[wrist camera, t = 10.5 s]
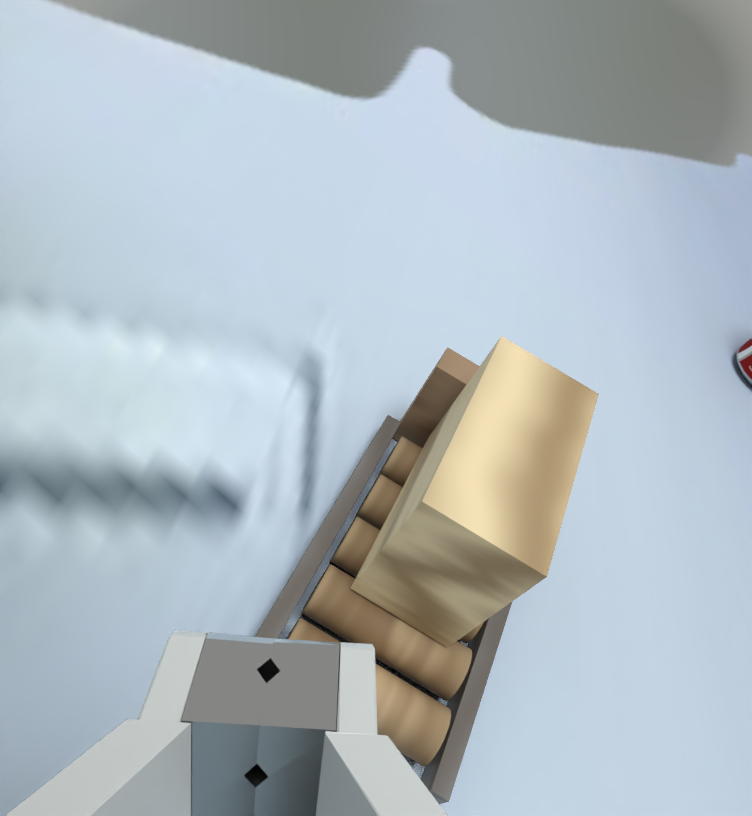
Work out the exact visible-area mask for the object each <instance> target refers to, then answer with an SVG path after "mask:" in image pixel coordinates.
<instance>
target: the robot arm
mask: <svg viewBox="0 0 752 816" xmlns="http://www.w3.org/2000/svg"><path fill="white" fill-rule="evenodd" d="M5 816H447V814H446V813H445V812H444V810H443V809H442V808H441V806H440V805H439V804H438V802H437V801H436V800H435V798H434V797H433V796H432V794H431V793H430V792H429V790H428V789H427V788H426V786H425V785H424V784H423V782H422V781H421V780H420V778H419V777H418V776H417V774H416V773H415V772H414V770H413V769H412V767H411V766H410V765H409V763H408V762H407V761H406V759H405V758H404V757H403V755H402V754H401V753H400V751H399V750H398V749H397V747H396V746H395V745H394V743H393V742H392V741H391V739H390V738H389V737H388V736H386V735H377V704H376V670H375V648H374V646H373V644H362V643H344V642H341V643H340V645H339V643H338V642H322V641H306V640H291V639H272V638H262V637H251V636H241V635H231V634H220V633H210V632H209V633H201V632H192V631H182V630H174V631H173V632H172V634H171V635H170V636H169V638H168V640H167V643H166V646H165V648H164V651H163V654H162V656H161V659H160V662H159V664H158V667H157V670H156V672H155V675H154V678H153V680H152V683H151V685H150V688H149V691H148V693H147V696H146V699H145V701H144V704H143V707H142V709H141V712H140V715H139V717H138V719H126V720H125V721H124V722H123V723H121V724H120V725H119V726H117V727H116V728H115V729H114V730H112V731H111V732H110V733H109V734H107V735H106V736H105V737H104V738H102V739H101V740H100V741H99V742H97V743H96V744H95V745H94V746H92V747H91V748H90V749H88V750H87V751H86V752H85V753H83V754H82V755H81V756H80V757H78V758H77V759H76V760H75V761H73V762H72V763H71V764H70V765H68V766H67V767H66V768H65V769H63V770H62V771H61V772H59V773H58V774H57V775H56V776H54V777H53V778H52V779H51V780H49V781H48V782H47V783H46V784H44V785H43V786H42V787H41V788H39V789H38V790H37V791H36V792H34V793H33V794H32V795H30V796H29V797H28V798H27V799H25V800H24V801H23V802H22V803H20V804H19V805H18V806H17V807H15V808H14V809H13V810H12V811H10V812H9V813H8V814H7V815H5Z"/></svg>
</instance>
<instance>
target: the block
mask: <svg viewBox="0 0 752 816" xmlns="http://www.w3.org/2000/svg"><path fill="white" fill-rule="evenodd" d="M597 398H598V393H596V392H594V391H593V390H591V389H589V388H588V387H586V386H584V385H583V384H581V383H579V382H578V381H576V380H574V379H572V378H571V377H569V376H567V375H566V374H564V373H562V372H561V371H559V370H557V369H556V368H554V367H552V366H551V365H549V364H547V363H546V362H544V361H542V360H541V359H539V358H537V357H536V356H534V355H532V354H531V353H529V352H527V351H526V350H524V349H522V348H521V347H519V346H517V345H516V344H514V343H512V342H510V341H509V340H507V339H505V338H504V337H502V336H501V338H500V339H499V340H498V342H497V343H496V345H495V346H494V347H493V349H492V350H491V351H490V353H489V354H488V356H487V357H486V358H485V360H484V361H483V363H482V364H481V365H480V367H479V368H478V369H477V371H476V372H475V374H474V375H473V376H472V378H471V379H470V381H469V382H468V383H467V385H466V386H465V387H464V389H463V390H462V392H461V393H460V394H459V396H458V397H457V399H456V400H455V401H454V403H453V404H452V405H451V407H450V408H449V410H448V411H447V412H446V414H445V415H444V417H443V418H442V419H441V421H440V422H439V423H438V425H437V426H436V428H435V429H434V430H433V432H432V433H431V435H430V436H429V438H428V440H427V442H426V443H425V445H424V447H423V449H422V451H421V453H420V455H419V457H418V459H417V461H416V463H415V465H414V467H413V469H412V470H411V472H410V474H409V476H408V478H407V480H406V482H405V484H404V486H403V488H402V490H401V492H400V494H399V496H398V497H397V499H396V501H395V503H394V505H393V507H392V509H391V511H390V513H389V515H388V517H387V519H386V521H385V523H384V524H383V526H382V528H381V530H380V532H379V534H378V536H377V538H376V540H375V542H374V544H373V546H372V548H371V550H370V551H369V553H368V555H367V557H366V559H365V561H364V563H363V565H362V567H361V569H360V571H359V573H358V575H357V577H356V579H355V580H354V582H353V584H352V586H351V589H352V590H354V591H356V592H357V593H359V594H361V595H362V596H364V597H365V598H367V599H369V600H370V601H372V602H374V603H375V604H377V605H379V606H380V607H382V608H384V609H385V610H387V611H389V612H390V613H392V614H393V615H395V616H397V617H398V618H400V619H402V620H403V621H405V622H407V623H408V624H410V625H412V626H413V627H415V628H416V629H418V630H420V631H421V632H423V633H425V634H426V635H428V636H430V637H431V638H433V639H435V640H436V641H438V642H439V643H441V644H443V645H444V646H446V647H449V646H451V645H452V644H453V643H455V642H456V641H458V640H459V639H460V638H462V637H463V636H465V635H466V634H467V633H469V632H470V631H472V630H473V629H474V628H476V627H477V626H479V625H480V624H481V623H483V622H484V621H485V620H487V619H488V618H490V617H491V616H492V615H494V614H495V613H497V612H498V611H499V610H501V609H502V608H504V607H505V606H506V605H508V604H509V603H511V602H512V601H513V600H515V599H516V598H518V597H519V596H520V595H522V594H523V593H525V592H526V591H527V590H529V589H530V588H532V587H533V586H534V585H536V584H537V583H539V582H540V581H541V580H543V579H544V578H546V577H547V574H548V570H549V567H550V563H551V560H552V556H553V553H554V549H555V546H556V542H557V539H558V535H559V532H560V528H561V524H562V521H563V517H564V514H565V510H566V507H567V503H568V500H569V496H570V493H571V489H572V486H573V482H574V479H575V475H576V472H577V468H578V465H579V461H580V458H581V454H582V451H583V447H584V444H585V440H586V437H587V433H588V429H589V426H590V422H591V419H592V415H593V412H594V408H595V405H596V401H597Z"/></svg>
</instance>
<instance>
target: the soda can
mask: <svg viewBox="0 0 752 816" xmlns="http://www.w3.org/2000/svg"><path fill="white" fill-rule="evenodd" d="M737 362H738V365H739V367H740V370H741V373H742V374H743V376H744V378H745V379H746V380H747V381H748V382H749V383H750V384H751V385H752V338H751V339H750V340H749V341H747V342H746V343H745V344H744V345H743V346H742V347H740V348H739V350H738V351H737Z"/></svg>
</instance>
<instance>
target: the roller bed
mask: <svg viewBox="0 0 752 816" xmlns="http://www.w3.org/2000/svg"><path fill="white" fill-rule="evenodd" d="M400 423H401V422H399V421H397V420H396V419H394V418H392V417H391V416H389V415H388V416H387V417H386V419H385V421H384V422H383V424H382V426H381V427H380V429H379V431H378V432H377V434H376V436H375V437H374V439H373V441H372V442H371V444H370V446H369V447H368V449H367V451H366V452H365V454H364V456H363V457H362V459H361V461H360V462H359V464H358V466H357V467H356V469H355V471H354V472H353V474H352V476H351V477H350V479H349V481H348V482H347V484H346V486H345V487H344V489H343V491H342V492H341V494H340V496H339V497H338V499H337V501H336V502H335V504H334V506H333V507H332V509H331V511H330V512H329V514H328V516H327V518H326V519H325V521H324V523H323V524H322V526H321V528H320V529H319V531H318V533H317V534H316V536H315V538H314V539H313V541H312V543H311V544H310V546H309V548H308V549H307V551H306V553H305V554H304V556H303V558H302V559H301V561H300V563H299V564H298V566H297V568H296V569H295V571H294V573H293V574H292V576H291V578H290V579H289V581H288V583H287V584H286V586H285V588H284V589H283V591H282V593H281V594H280V596H279V598H278V599H277V601H276V603H275V604H274V606H273V608H272V609H271V611H270V613H269V614H268V616H267V618H266V619H265V621H264V623H263V624H262V626H261V628H260V629H259V631H258V633H257V634H256V636H255V637H262V638H272V639H277V638H278V636H279V635H280V633H281V631H282V629H283V628H284V626H285V624H286V622H287V621H288V619H289V617H290V615H291V614H292V612H293V610H294V608H295V607H296V605H297V603H298V601H299V600H300V598H301V596H302V594H303V593H304V591H305V589H306V587H307V586H308V584H309V582H310V580H311V579H312V577H313V575H314V573H315V572H316V570H317V568H318V566H319V565H320V563H321V561H322V559H323V558H324V556H325V554H326V552H327V551H328V549H329V547H330V545H331V544H332V542H333V540H334V538H335V537H336V535H337V533H338V531H339V530H340V528H341V526H342V525H343V523H344V521H345V519H346V518H347V516H348V514H349V512H350V511H351V509H352V507H353V505H354V504H355V502H356V500H357V498H358V497H359V495H360V493H361V491H362V490H363V488H364V486H365V484H366V483H367V481H368V479H369V477H370V476H371V474H372V472H373V470H374V469H375V467H376V465H377V463H378V462H379V460H380V458H381V456H382V455H383V453H384V451H385V449H386V448H387V446H388V444H389V442H390V441H391V439H392V437H393V435H394V434H395V432H396V430H397V428H398V427H399V425H400ZM422 449H423V448H421V447H419V446H418V445H416V444H414V443H413V442H411V441H409V440H408V439H406V438H404V437H403V436H402V437H401V438H400V440H399V441H398V443H397V444H396V446H395V447H394V449H393V451H392V452H391V454H390V456H389V457H388V459H387V461H386V462H385V464H384V466H383V468H382V469H381V471H380V473H379V475H378V476H379V477H378V479H377V480H376V482H375V483H374V485H373V486H372V488H371V490H370V491H369V493H368V495H367V496H366V498H365V500H364V502H363V503H362V505H361V507H360V509H359V510H358V512H357V514H356V518H355V520H354V521H353V523H352V524H351V526H350V528H349V529H348V531H347V532H346V534H345V536H344V537H343V539H342V541H341V543H340V544H339V546H338V548H337V550H336V551H335V553H334V555H333V557H332V559H331V561H330V562H332V563H334V564H335V565H337V566H339V567H340V568H342V569H344V570H345V571H347V572H348V573H350V574H352V575H353V576H355V577H357V575H358V573H359V571H360V569H361V567H362V565H363V563H364V561H365V559H366V557H367V555H368V553H369V551H370V550H371V548H372V546H373V544H374V542H375V540H376V538H377V536H378V534H379V532H380V530H381V528H382V526H383V524H384V523H385V521H386V519H387V517H388V515H389V513H390V511H391V509H392V507H393V505H394V503H395V501H396V499H397V497H398V496H399V494H400V492H401V490H402V488H403V486H404V484H405V482H406V480H407V478H408V476H409V474H410V472H411V470H412V469H413V467H414V465H415V463H416V461H417V459H418V457H419V455H420V453H421V451H422ZM354 580H355V578H353V577H351V576H350V575H348V574H346V573H345V572H343V571H341V570H340V569H338V568H336V567H335V566H333V565H332V564H330V565H329V566H328V568H327V569H326V571H325V572H324V574H323V576H322V577H321V579H320V580H319V582H318V584H317V585H316V587H315V589H314V591H313V592H312V594H311V596H310V598H309V599H308V601H307V603H306V605H305V607H304V609H303V611H302V614H304V615H306V616H307V617H309V618H311V619H312V620H314V621H316V622H317V623H319V624H321V625H322V626H324V627H325V628H327V629H329V630H330V631H332V632H334V633H335V634H337V635H339V636H340V637H342V638H343V639H345V640H347V641H348V642H350V643H362V644H373V646H374V648H375V658H376V659H378V660H380V661H381V662H383V663H384V664H386V665H388V666H389V667H391V668H393V669H394V670H396V671H398V672H399V673H401V674H402V675H404V676H406V677H407V678H409V679H411V680H412V681H414V682H416V683H417V684H419V685H421V686H422V687H424V688H425V689H427V690H429V691H430V692H432V693H434V694H435V695H437V696H439V697H440V698H442V699H443V700H445V701H447V700H449V701H448V704H447V707H446V706H445V705H443V704H441V703H440V702H438V701H436V700H435V699H433V698H431V697H430V696H428V695H426V694H425V693H423V692H422V691H420V690H418V689H417V688H415V687H413V686H412V685H410V684H408V683H407V682H405V681H404V680H402V679H400V678H399V677H397V676H395V675H394V674H392V673H390V672H389V671H387V670H386V669H384V668H382V667H381V666H379V665H377V664H376V663H375V670H376V704H377V735H386V736H388V737H389V738H390V739H391V741H392V742H393V743H394V745H395V746H396V747H397V749H398V750H399V751H400V752H401V753H402V754H404V755H406V756H407V757H409V758H411V759H412V760H414V761H415V762H417V763H419V764H420V765H422V766H426V767H425V770H424V772H423V775H422V778H421V781H422V782H423V784H424V785H425V786H426V788H427V789H428V790H429V792H430V793H431V794H432V796H433V797H434V798H435V800H436V801H437V802H438V804H441V803H445V802H448V801H449V799H450V796H451V793H452V790H453V787H454V783H455V780H456V777H457V774H458V771H459V768H460V765H461V761H462V758H463V755H464V752H465V749H466V746H467V742H468V739H469V736H470V733H471V730H472V727H473V724H474V720H475V717H476V714H477V711H478V708H479V705H480V701H481V698H482V695H483V692H484V689H485V686H486V683H487V679H488V676H489V673H490V670H491V667H492V664H493V660H494V657H495V654H496V651H497V648H498V645H499V641H500V638H501V635H502V632H503V629H504V626H505V623H506V619H507V616H508V613H509V610H510V607H511V604H512V602H511V603H509V604H508V605H506V606H505V607H504V608H502V609H501V610H499V611H498V612H497V613H495V614H494V615H492V616H491V617H490V618H488V619H487V620H485V621H484V622H483V623H481V624H480V625H479V626H477V627H476V628H474V629H473V630H472V631H470V632H469V633H467V634H466V635H465V636H463V637H462V638H460V639H459V640H460V641H462V642H464V643H468V642H469V644H468V647H466V646H465V645H463V644H462V643H460V642H458V641H456V642H455V643H453V644H452V645H451V646H449V647H446V646H444V645H443V644H441V643H439V642H438V641H436V640H435V639H433V638H431V637H430V636H428V635H426V634H425V633H423V632H421V631H420V630H418V629H416V628H415V627H413V626H412V625H410V624H408V623H407V622H405V621H403V620H402V619H400V618H398V617H397V616H395V615H393V614H392V613H390V612H389V611H387V610H385V609H384V608H382V607H380V606H379V605H377V604H375V603H374V602H372V601H370V600H369V599H367V598H365V597H364V596H362V595H361V594H359V593H357V592H356V591H354V590H352V589H351V586H352V584H353V582H354ZM287 639H291V640H306V641H322V642H338V643H339V645H340V643H341V642H340V641H338V640H336V639H335V638H333V637H331V636H330V635H328V634H326V633H325V632H323V631H322V630H320V629H318V628H317V627H315V626H313V625H312V624H310V623H308V622H307V621H305V620H304V619H302V618H299V620H298V621H297V623H296V624H295V626H294V627H293V629H292V631H291V632H290V634H289V636H288V637H287Z"/></svg>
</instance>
